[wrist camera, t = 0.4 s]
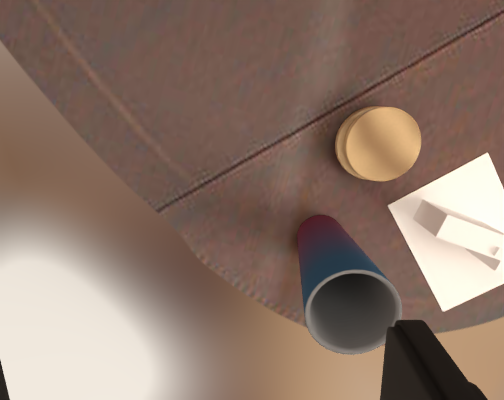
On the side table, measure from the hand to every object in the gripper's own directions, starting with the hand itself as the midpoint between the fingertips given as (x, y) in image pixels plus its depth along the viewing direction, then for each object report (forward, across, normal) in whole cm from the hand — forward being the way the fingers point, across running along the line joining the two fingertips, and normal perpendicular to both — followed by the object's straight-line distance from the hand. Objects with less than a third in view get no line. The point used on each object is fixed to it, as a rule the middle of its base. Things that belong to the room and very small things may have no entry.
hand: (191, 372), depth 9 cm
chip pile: (+31, -13, -2) cm, 33 cm away
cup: (+31, -8, +9) cm, 33 cm away
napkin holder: (+31, -24, +9) cm, 40 cm away
